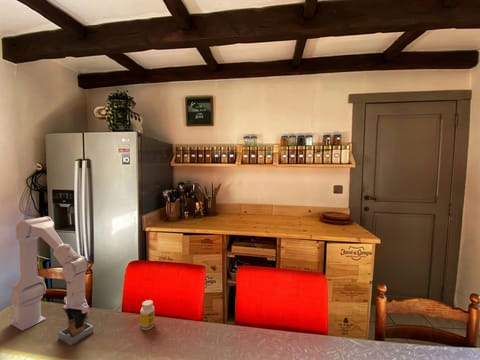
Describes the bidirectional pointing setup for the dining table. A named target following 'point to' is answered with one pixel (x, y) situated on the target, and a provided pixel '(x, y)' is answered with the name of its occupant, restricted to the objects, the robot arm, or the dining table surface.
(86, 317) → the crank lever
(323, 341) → the dining table surface
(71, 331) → the block
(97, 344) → the dining table surface
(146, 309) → the supplement bottle
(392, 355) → the dining table surface
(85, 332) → the tray
